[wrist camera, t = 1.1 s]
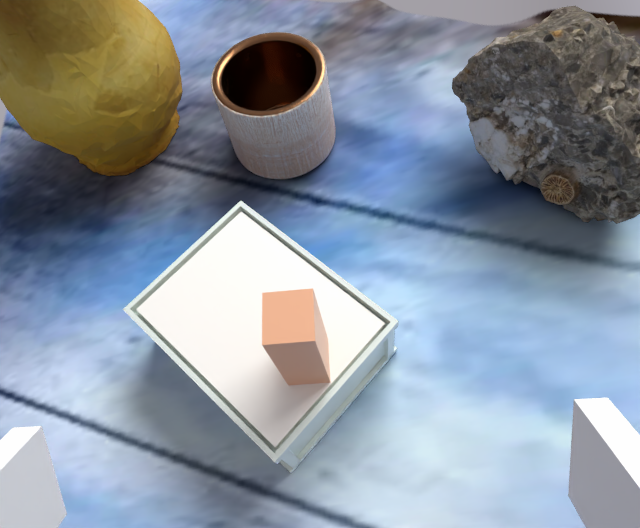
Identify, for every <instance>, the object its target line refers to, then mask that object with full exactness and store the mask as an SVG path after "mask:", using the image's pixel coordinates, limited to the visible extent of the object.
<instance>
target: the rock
mask: <svg viewBox="0 0 640 528" xmlns="http://www.w3.org/2000/svg"><path fill="white" fill-rule="evenodd" d="M452 89H453V92H454V94H455V95H456V96H458V97H459V98H460V100H461V102H463V103H464V104H465V105H466V107H467V115H468V117H469V120H470V123H469V128H470V131H471V134H472V136H473V138H474V142H475V146H476V150H477V151H478V153H479V154H480V155H481V156H482V157H483V158H485V159H486V161H487V162H488V163H489V165H490V166H491V168H492V170H493V171H494V172H496V173H499V172H500V171H501V172H502V173H503V175H504V177H505V178H506V180H511V179H512V180H513V182H514V183H515V184H518V183H520V182H521V181H523V182H526V183H528V184H530V185H532V186H535V187H537V188H540V190H541V192H542V194H543V196H544V198H545V200H546V201H549V202H552V203H555V204H558V205H563V207H564V209H566V210H568V211H571V212H573V213H575V215H576V216H578V217H580V218H581V219H582V221H583V222H589V221H590V220H591V219H593V218H595V219H596V220H597V221H600V220H605V219H606V220H608V222H611V221H614V222H615V223H616V224H618V223H620V222H623V221H626V220H629V219H631V218H634V217H635V216H637V215H638V214H640V45H639V44H638V43H637V42H636V41H635V36H630V37H626V36H625V34H621V33H620V32H619V30H618V28H617V26H616V25H614V22H613V21H612V22H611V23H609V24H608V23H607V22H606V21H605V20H604V18H599V19H596V18H595V17H594V16H593V15H591V14H590V13H588V12H586V11H584V10H582V9H580V8H578V7H576V6H571V7H562V8H559V9H557V10H555V11H553V12H552V13H551V14H550V16H549V17H547V18H546V19H544V20H543V21H542V22H541V23H539V24H534V25H532V26H530V27H528V28H527V27H526V28H522V29H519V30H515V31H512V32H511V33H510V34H509V35H508V36H507V37H499V38H495V39H494V40H493V42H492V43H491V44H489V45H488V46H486V47H485V48H483V49H482V50H480V51H479V52H478V53H476V54H475V55H474V56H473V57H471V58H470V59H469V60H468V64H467V65H466V67H465V68H464V69H463V70H462V71H461V72H459V74H458V75H457V76H456V77H455V78H453V82H452Z"/></svg>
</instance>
